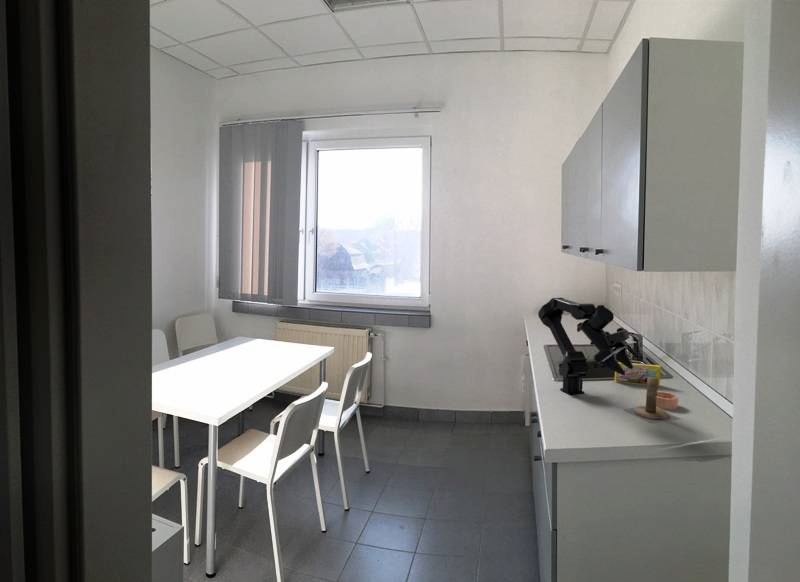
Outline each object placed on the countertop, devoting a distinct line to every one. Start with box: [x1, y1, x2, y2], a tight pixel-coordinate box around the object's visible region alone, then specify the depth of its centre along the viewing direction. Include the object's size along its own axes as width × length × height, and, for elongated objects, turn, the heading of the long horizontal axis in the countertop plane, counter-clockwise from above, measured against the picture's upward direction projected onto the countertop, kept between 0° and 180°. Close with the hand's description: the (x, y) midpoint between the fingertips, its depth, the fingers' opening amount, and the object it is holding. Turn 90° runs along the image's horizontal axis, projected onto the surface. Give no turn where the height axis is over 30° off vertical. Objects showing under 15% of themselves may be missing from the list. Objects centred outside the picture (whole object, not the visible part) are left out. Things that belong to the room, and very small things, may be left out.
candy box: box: [614, 361, 662, 387], centre depth 185 cm, size 16×2×8 cm, turn 71°
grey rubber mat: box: [622, 407, 681, 424], centre depth 152 cm, size 12×12×1 cm
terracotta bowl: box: [656, 390, 679, 411], centre depth 160 cm, size 8×8×4 cm
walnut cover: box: [633, 377, 669, 420], centre depth 151 cm, size 10×10×12 cm
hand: (628, 371), depth 156 cm, fingers open, 9 cm apart
